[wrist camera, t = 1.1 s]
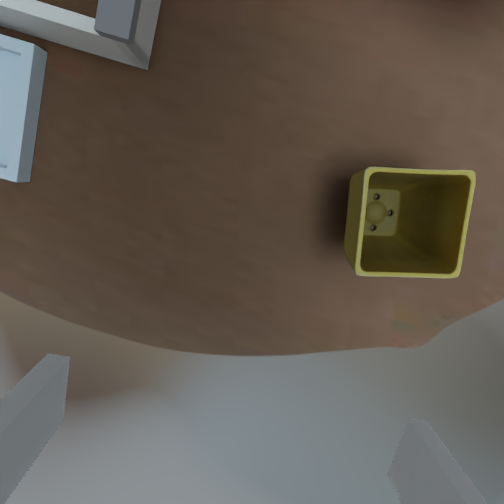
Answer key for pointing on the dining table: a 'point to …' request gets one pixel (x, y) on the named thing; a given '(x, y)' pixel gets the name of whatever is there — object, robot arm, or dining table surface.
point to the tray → (19, 105)
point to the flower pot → (408, 221)
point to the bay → (90, 27)
